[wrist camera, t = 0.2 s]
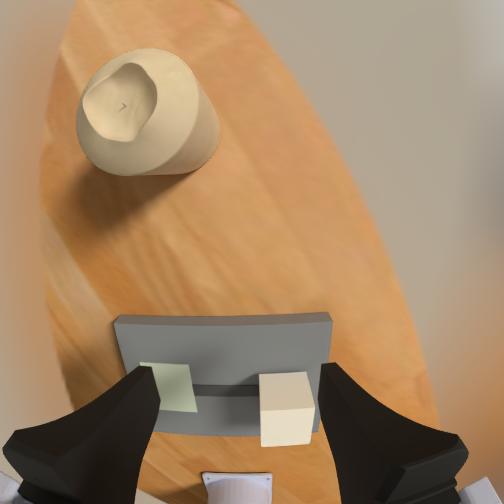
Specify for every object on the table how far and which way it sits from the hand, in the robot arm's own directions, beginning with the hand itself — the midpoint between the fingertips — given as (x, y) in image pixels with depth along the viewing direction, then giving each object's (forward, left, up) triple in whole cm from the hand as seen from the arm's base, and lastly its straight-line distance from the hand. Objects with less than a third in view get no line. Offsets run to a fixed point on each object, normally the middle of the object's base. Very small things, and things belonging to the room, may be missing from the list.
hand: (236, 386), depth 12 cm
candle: (+11, +4, -10) cm, 16 cm away
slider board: (-8, +2, -10) cm, 13 cm away
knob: (-8, -3, -8) cm, 11 cm away
